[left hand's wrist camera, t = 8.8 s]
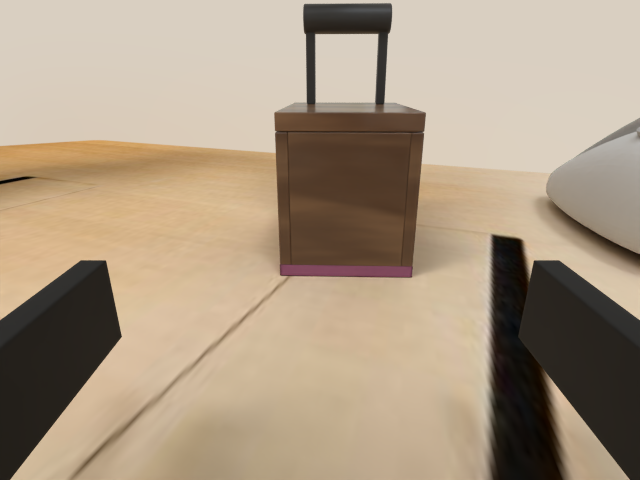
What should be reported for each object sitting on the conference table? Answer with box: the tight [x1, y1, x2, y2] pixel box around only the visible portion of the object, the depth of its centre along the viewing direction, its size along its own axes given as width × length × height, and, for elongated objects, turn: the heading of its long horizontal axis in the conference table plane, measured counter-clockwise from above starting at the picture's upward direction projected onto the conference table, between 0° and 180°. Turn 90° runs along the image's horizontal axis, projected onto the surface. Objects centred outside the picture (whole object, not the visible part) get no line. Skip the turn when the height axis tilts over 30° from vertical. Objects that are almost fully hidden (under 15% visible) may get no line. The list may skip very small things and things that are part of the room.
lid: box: [274, 3, 426, 132], centre depth 30 cm, size 13×9×9 cm
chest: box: [275, 131, 424, 277], centre depth 33 cm, size 13×9×10 cm
